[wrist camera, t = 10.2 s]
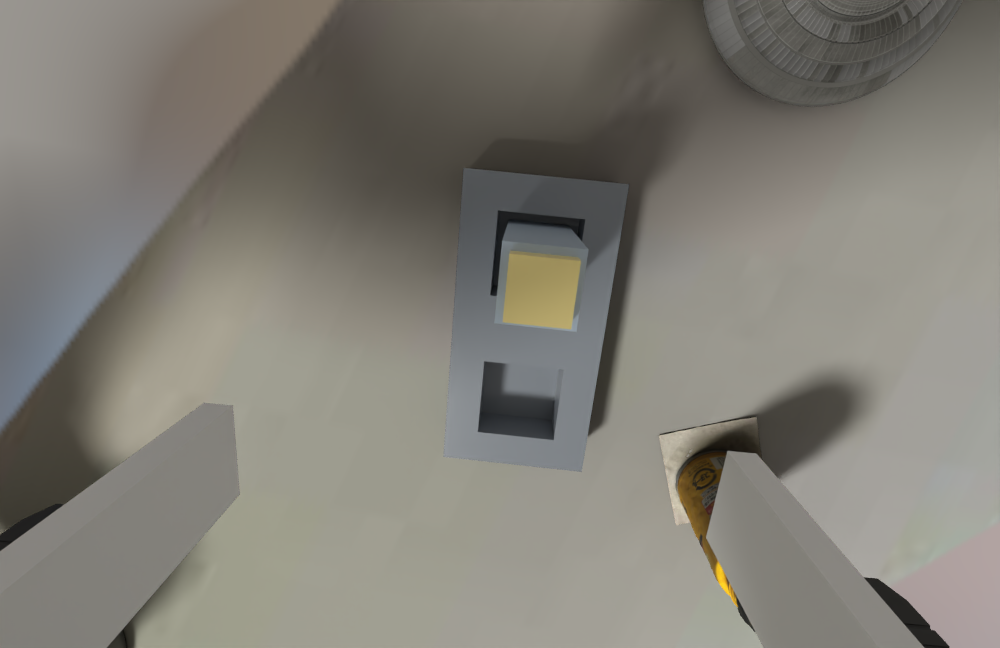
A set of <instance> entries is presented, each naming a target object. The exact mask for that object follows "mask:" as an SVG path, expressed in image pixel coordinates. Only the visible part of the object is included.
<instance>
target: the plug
mask: <svg viewBox="0 0 1000 648" xmlns="http://www.w3.org/2000/svg"><path fill="white" fill-rule="evenodd" d="M588 250H589V249H588V248H587V247H586V246H585V245H584V243H583V242H582V241H581V240H580V239H579V237H578V236H577V235H576V234H575V233H574V231H573V230H572V229H571V228H570V227H569V225H565V224H555V223H545V222H535V221H525V220H515V219H509V221H508V224H507V227H506V230H505V233H504V237H503V240H502V248H501V258H500V269H499V279H498V290H497V300H496V311H495V321H494V323H497V324H506V325H516V326H525V327H535V328H545V329H554V330H564V331H573V332H577V325H578V318H579V311H580V305H581V298H582V291H583V284H584V278H585V271H586V264H587V257H588Z"/></svg>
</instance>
